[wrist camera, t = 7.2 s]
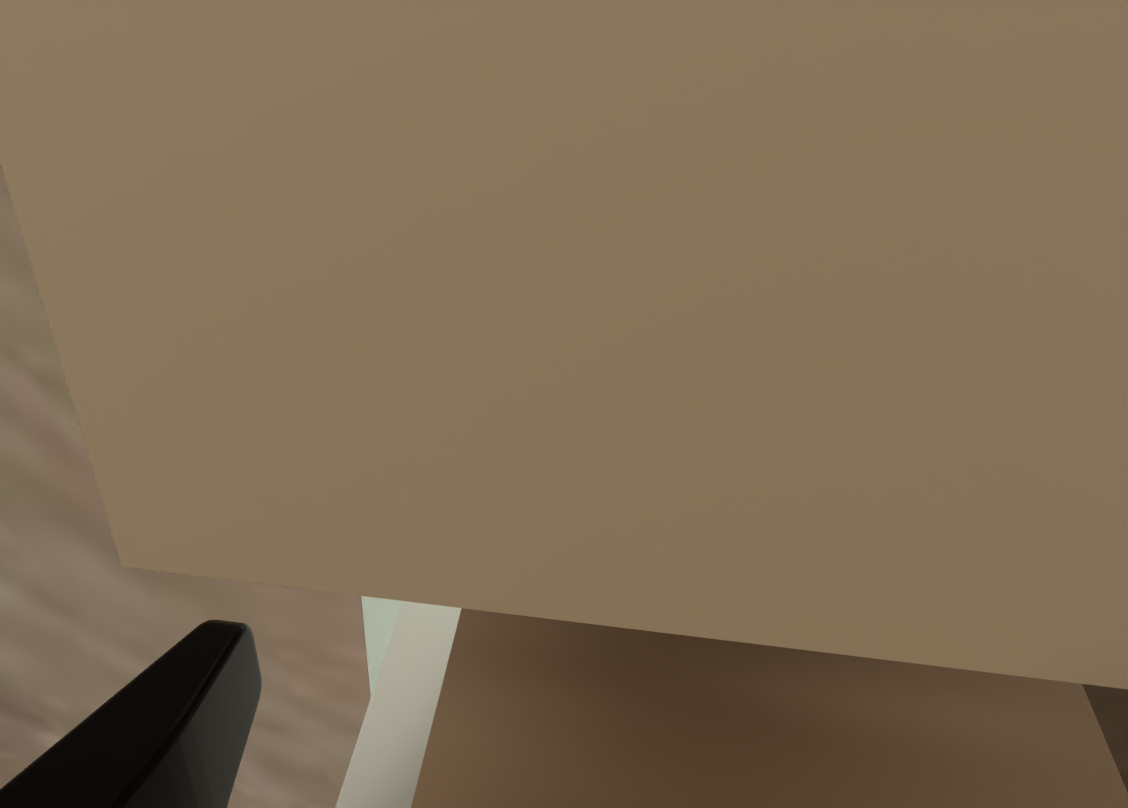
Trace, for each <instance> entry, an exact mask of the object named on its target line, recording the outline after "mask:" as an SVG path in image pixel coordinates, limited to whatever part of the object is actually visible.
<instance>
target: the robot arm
mask: <svg viewBox="0 0 1128 808" xmlns="http://www.w3.org/2000/svg"><path fill="white" fill-rule="evenodd" d="M260 693H261V672H260V667H259V662H258V657H257V652H256V647H255V642H254V637H253V633H252V630H251V629H250V627H249V626H248V625H247V624H244V623H238V622H230V621H222V620H208V621H206V622H204V623H202V624H200V625H199V626H197V627H196V628H195V629H194V630H193V631H191V632H190V633H189V634H188V635H187V636H185V637H184V638H183V639H182V640H181V641H179V642H178V643H177V644H176V645H174V646H173V647H172V648H171V649H170V650H168V651H167V652H166V653H165V654H164V655H162V656H161V657H160V658H159V659H157V660H156V661H155V662H154V663H153V664H151V665H150V666H149V667H148V668H147V669H145V670H144V671H143V672H142V673H141V674H139V675H138V676H137V677H136V678H134V679H133V680H132V681H131V682H130V683H128V684H127V685H126V686H125V687H124V688H122V689H121V690H120V691H119V692H117V693H116V694H115V695H114V696H113V697H111V698H110V699H109V700H108V701H107V702H105V703H104V704H103V705H102V706H101V707H99V708H98V709H97V710H96V711H94V712H93V713H92V714H91V715H90V716H88V717H87V718H86V719H85V720H84V721H82V722H81V723H80V724H79V725H77V726H76V727H75V728H74V729H73V730H71V731H70V732H69V733H68V734H67V735H65V736H64V737H63V738H62V739H61V740H59V741H58V742H57V743H56V744H54V745H53V746H52V747H51V748H50V749H48V750H47V751H46V752H45V753H44V754H42V755H41V756H40V757H39V758H37V759H36V760H35V761H34V762H33V763H31V764H30V765H29V766H28V767H27V768H25V769H24V770H23V771H22V772H21V773H19V774H18V775H17V776H16V777H14V778H13V779H12V780H11V781H10V782H8V783H7V784H6V785H5V786H4V787H2V788H1V789H0V808H227V805H228V801H229V798H230V795H231V791H232V788H233V785H234V782H235V778H236V775H237V772H238V768H239V765H240V762H241V758H242V755H243V752H244V749H245V745H246V742H247V739H248V735H249V732H250V729H251V725H252V722H253V719H254V715H255V712H256V709H257V706H258V702H259V698H260Z"/></svg>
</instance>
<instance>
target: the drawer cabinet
mask: <svg viewBox="0 0 1128 808" xmlns="http://www.w3.org/2000/svg"><path fill="white" fill-rule="evenodd" d="M0 163H1V167H2V170H3V173H4V177H5V180H6V183H7V187H8V190H9V193H10V197H11V200H12V203H13V207H14V210H15V213H16V217H17V220H18V223H19V227H20V230H21V233H22V237H23V240H24V243H25V247H26V250H27V253H28V257H29V260H30V263H31V267H32V270H33V273H34V277H35V280H36V283H37V287H38V290H39V293H40V297H41V300H42V303H43V307H44V310H45V313H46V317H47V320H48V323H49V327H50V330H51V333H52V337H53V340H54V343H55V347H56V350H57V353H58V357H59V360H60V363H61V367H62V370H63V373H64V377H65V380H66V383H67V386H68V390H69V393H70V396H71V400H72V403H73V406H74V410H75V413H76V416H77V420H78V423H79V426H80V430H81V433H82V436H83V440H84V443H85V446H86V450H87V453H88V456H89V460H90V463H91V466H92V470H93V473H94V476H95V480H96V483H97V486H98V490H99V493H100V496H101V500H102V503H103V506H104V510H105V513H106V516H107V520H108V523H109V526H110V530H111V533H112V536H113V540H114V543H115V546H116V550H117V553H118V556H119V560H120V563H121V566H122V567H128V568H136V569H145V570H153V571H161V572H169V573H177V574H186V575H194V576H202V577H210V578H218V579H227V580H235V581H243V582H251V583H259V584H268V585H276V586H284V587H292V588H300V589H309V590H317V591H325V592H333V593H341V594H350V595H358V596H362V606H363V617H364V628H365V639H366V649H367V660H368V671H369V682H370V692H371V699H370V702H369V706H368V709H367V712H366V715H365V718H364V721H363V724H362V727H361V730H360V733H359V736H358V739H357V743H356V746H355V749H354V752H353V755H352V758H351V761H350V764H349V767H348V770H347V773H346V777H345V780H344V783H343V786H342V789H341V792H340V795H339V798H338V801H337V804H336V807H335V808H411V805H412V801H413V797H414V793H415V789H416V786H417V782H418V778H419V774H420V770H421V766H422V762H423V758H424V754H425V750H426V746H427V742H428V738H429V734H430V730H431V726H432V722H433V719H434V715H435V711H436V707H437V703H438V699H439V695H440V691H441V687H442V683H443V679H444V675H445V671H446V667H447V663H448V659H449V656H450V652H451V648H452V644H453V640H454V636H455V632H456V628H457V624H458V620H459V616H460V612H461V608H464V609H473V610H481V611H489V612H497V613H505V614H514V615H522V616H530V617H538V618H546V619H555V620H563V621H571V622H579V623H587V624H596V625H604V626H612V627H620V628H628V629H637V630H645V631H653V632H661V633H669V634H678V635H686V636H694V637H702V638H710V639H719V640H727V641H735V642H743V643H751V644H760V645H768V646H776V647H784V648H792V649H801V650H809V651H817V652H825V653H833V654H842V655H850V656H858V657H866V658H874V659H883V660H891V661H899V662H907V663H915V664H924V665H932V666H940V667H948V668H956V669H965V670H973V671H981V672H989V673H997V674H1005V675H1014V676H1022V677H1030V678H1038V679H1046V680H1055V681H1063V682H1071V683H1079V684H1087V685H1096V686H1104V687H1112V688H1120V689H1128V0H0Z"/></svg>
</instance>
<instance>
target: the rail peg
mask: <svg viewBox="0 0 1128 808" xmlns="http://www.w3.org/2000/svg"><path fill="white" fill-rule="evenodd" d="M411 808H1128V793H1127V790H1126V788H1125V785H1124V783H1123V781H1122V778H1121V776H1120V773H1119V771H1118V769H1117V766H1116V764H1115V761H1114V759H1113V757H1112V754H1111V752H1110V749H1109V747H1108V745H1107V742H1106V740H1105V737H1104V735H1103V732H1102V730H1101V728H1100V725H1099V723H1098V720H1097V718H1096V716H1095V713H1094V711H1093V708H1092V706H1091V704H1090V701H1089V699H1088V696H1087V694H1086V692H1085V689H1084V687H1083V684H1079V683H1071V682H1063V681H1055V680H1046V679H1038V678H1030V677H1022V676H1014V675H1005V674H997V673H989V672H981V671H973V670H965V669H956V668H948V667H940V666H932V665H924V664H915V663H907V662H899V661H891V660H883V659H874V658H866V657H858V656H850V655H842V654H833V653H825V652H817V651H809V650H801V649H792V648H784V647H776V646H768V645H760V644H751V643H743V642H735V641H727V640H719V639H710V638H702V637H694V636H686V635H678V634H669V633H661V632H653V631H645V630H637V629H628V628H620V627H612V626H604V625H596V624H587V623H579V622H571V621H563V620H555V619H546V618H538V617H530V616H522V615H514V614H505V613H497V612H489V611H481V610H473V609H464V608H461V612H460V616H459V620H458V624H457V628H456V632H455V636H454V640H453V644H452V648H451V652H450V656H449V659H448V663H447V667H446V671H445V675H444V679H443V683H442V687H441V691H440V695H439V699H438V703H437V707H436V711H435V715H434V719H433V722H432V726H431V730H430V734H429V738H428V742H427V746H426V750H425V754H424V758H423V762H422V766H421V770H420V774H419V778H418V782H417V786H416V789H415V793H414V797H413V801H412V805H411Z"/></svg>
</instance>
